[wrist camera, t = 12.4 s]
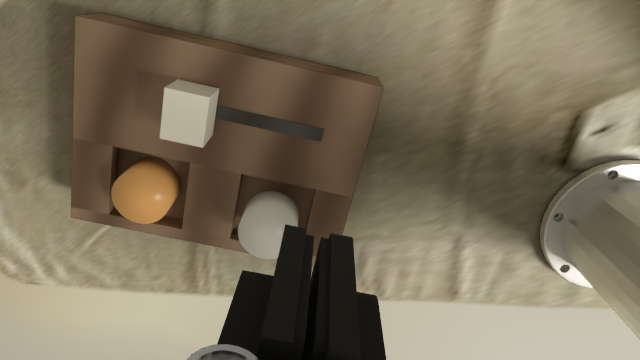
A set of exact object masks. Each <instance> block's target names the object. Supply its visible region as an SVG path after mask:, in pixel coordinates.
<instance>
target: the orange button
mask: <svg viewBox="0 0 640 360" xmlns="http://www.w3.org/2000/svg"><path fill="white" fill-rule="evenodd" d="M180 190H181V182H180V178H179V176H178V174H177V172H176V171H175V169H174V168H173V167H172V166H171V165H169V164H168V163H167V162H165V161H163V160H160V159H157V158H144V159H141V160H138V161H137V162H135V163H134V164H133V165H132V166H131V167H130V168H128V169H127V170H126V171H125V172H124V173H123V174H122V175H121V176H120V177H119V178H118V179H117V180H116V181H115V182H114V184H113V187H112V191H111V196H112V201H113V204H114V206H115V207H116V209H117V210H118V212H119V213H120V214H121V215H122V216H124V217H125V218H127V219H128V220H130V221H133V222H136V223H140V224H150V223H154V222H156V221H158V220H160V219H161V218H163V217H164V215H165V214H166V213H167V211H168V210H169V209H170V207H171V206H172V204H173V203H174V202H175V200H176V199H177V197H178V196H179V193H180Z"/></svg>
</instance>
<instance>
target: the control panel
mask: <svg viewBox="0 0 640 360" xmlns="http://www.w3.org/2000/svg"><path fill="white" fill-rule="evenodd" d="M177 79H179V80H184V81H188V82H193V83H197V84H202V85H206V86H210V87H215V88H219V94H218V101H217V108H216V115H215V122H214V129H213V135H212V137H211V138H210V139H209V141H208V142H207V143H206V144H205V146H204V147H203V148H201V147H197V146H192V145H187V144H183V143H178V142H173V141H169V140H164V139H160V128H161V118H162V108H163V97H164V87H166V86H168V85H169V84H171V83H173V82H174V81H176V80H177ZM383 88H384V87H383V86H382V84H381V82H380V80H379V79H378V77H373V76H369V75H365V74H360V73H356V72H352V71H348V70H343V69H339V68H335V67H331V66H326V65H322V64H318V63H313V62H309V61H305V60H301V59H296V58H292V57H288V56H284V55H279V54H275V53H271V52H266V51H262V50H258V49H254V48H249V47H245V46H241V45H237V44H232V43H228V42H224V41H219V40H215V39H211V38H207V37H202V36H198V35H194V34H190V33H185V32H181V31H177V30H172V29H168V28H164V27H160V26H155V25H151V24H147V23H143V22H138V21H134V20H130V19H126V18H121V17H117V16H113V15H108V14H104V13H95V14H86V15H77V16H75V49H74V97H73V145H72V192H71V218H75V219H80V220H85V221H90V222H95V223H100V224H105V225H110V226H115V227H120V228H125V229H130V230H135V231H140V232H145V233H150V234H155V235H160V236H165V237H170V238H175V239H180V240H185V241H190V242H195V243H200V244H205V245H210V246H215V247H220V248H225V249H230V250H235V251H240V252H245V253H248V252H247V251H246V250H245V249H244V248H243V246H242V245H241V243H240V241H239V238H238V227H239V224H240V221H241V218H242V216H243V213H244V210H245V207H246V205H247V203H248V202H249V200H250V199H251V198H252V197H254V196H255V195H257V194H259V193H262V192H266V191H275V192H279V193H282V194H284V195H286V196H288V197H289V198H290V199H291V200H292V201H293V202H294V203H295V205H296V207H297V209H298V213H299V220H298V227H302V228H307V232H306V234H307V235H312V236H314V246H313V258H312V266H314V264H315V259H316V255H317V251H318V247H319V242H320V239H321V237H323V238H328V239H329V236H330V233H333V234H338V235H342V234H343V230H344V226H345V223H346V219H347V216H348V212H349V209H350V205H351V202H352V198H353V194H354V191H355V187H356V184H357V180H358V177H359V173H360V170H361V166H362V162H363V159H364V155H365V152H366V148H367V145H368V141H369V138H370V134H371V130H372V127H373V123H374V120H375V116H376V113H377V109H378V106H379V102H380V98H381V95H382V91H383ZM144 158H157V159H160V160H163V161H165V162H167V163H168V164H169V165H171V166H172V167H173V168H174V169H175V171H176V172H177V174H178V176H179V178H180V182H181V190H180V193H179V196H178V197H177V199H176V200H175V202H174V203H173V204H172V206H171V207H170V209H169V210H168V211H167V213H166V214H165V215H164V217H163V218H161V219H160V220H158V221H156V222H154V223H150V224H140V223H136V222H133V221H130V220H128V219H127V218H125V217H124V216H122V215H121V214H120V213H119V212H118V210H117V209H116V207H115V206H114V204H113V201H112V196H111V191H112V187H113V184H114V182H115V181H116V180H117V179H118V178H119V177H120V176H121V175H122V174H123V173H124V172H125V171H126V170H127V169H128V168H130V167H131V166H132V165H133V164H134V163H135V162H137V161H138V160H141V159H144ZM277 259H278V258H277Z"/></svg>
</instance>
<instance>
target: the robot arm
mask: <svg viewBox="0 0 640 360" xmlns="http://www.w3.org/2000/svg"><path fill="white" fill-rule="evenodd" d="M306 232H307V228H302V227H297V226H292V225H286V224H285V228H284V232H283V237H282V242H281V246H280V251H279V255H278V260H277V264H276V269H275V274H274V276H270V275H265V274H260V273H255V272H249V271H244V270H243V271H242V273H241V276H240V279H239V282H238V285H237V288H236V291H235V294H234V297H233V300H232V303H231V306H230V308H229V311H228V314H227V318H226V320H225V323H224V326H223V329H222V332H221V335H220V338H219V341H218V344H217V345H211V346H208V347H204V348H201V349H200V350H198V351H196V352H195V353H193V354H191V356H190V357H189V358H188V359H187V360H386V355H385V348H384V341H383V333H382V326H381V319H380V312H379V304H378V299H377V296H375V295H371V294H365V293H360V292H356V277H355V263H354V249H353V238H352V237H348V236H343V235H338V234H333V233H330V236H329V239H328V238H323V237H321V239H320V242H319V247H318V251H317V255H316V259H315V264H314V268H313V272H312V277H311V269H312V258H313V246H314V236H312V235H307V234H306ZM540 243H541V249H542V251H543V254H544V256H545V258H546V260H547V261H548V263H549V264H550V265H551V267H552V268H553V269H554V270H555V271H556V272H557V274H559V275H560V276H561V277H563V278H564V279H566V280H567V281H569V282H571V283H574V284H576V285H578V286H583V287H587V288H594V289H595V290H596V291H597V292H598V293H599V294H600V296H601V297H602V298H603V299H604V300H605V301H606V302H607V303H608V305H609V306H610V307H611V308H612V309H613V310H614V311H615V312H616V314H617V315H618V316H619V317H620V318H621V319H622V320H623V321H624V323H625V324H626V325H627V326H628V327H629V328H630V329H631V330H632V331H633V333H634V334H635V335H636V336H637V337H638V338H639V339H640V161H639V160H620V161H613V162H608V163H605V164H601V165H598V166H595V167H593V168H591V169H589V170H587V171H585V172H583V173H581V174H579V175H578V176H577V177H575V178H574V179H572V180H571V181H569V182H568V183H567V184H566V185H565V186H564V187H563V188H562V189H561V190H560V191H559V192H558V193H557V194H556V196H555V197H554V198H553V200H552V201H551V202H550V204H549V206H548V208H547V210H546V212H545V214H544V216H543V220H542V223H541V228H540ZM310 280H311V281H310Z"/></svg>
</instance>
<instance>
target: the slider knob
mask: <svg viewBox="0 0 640 360" xmlns="http://www.w3.org/2000/svg"><path fill="white" fill-rule="evenodd" d="M218 94H219V88H215V87H210V86H206V85H202V84H197V83H193V82H188V81H184V80H179V79H177V80H176V81H174V82H173V83H171V84H169V85H168V86H166V87H164V97H163V108H162V118H161V128H160V139H164V140H169V141H173V142H178V143H183V144H187V145H192V146H197V147H201V148H203V147H204V146H205V144H206V143H207V142H208V141H209V139H210V138H211V137H212V135H213V129H214V122H215V115H216V108H217V101H218Z"/></svg>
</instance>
